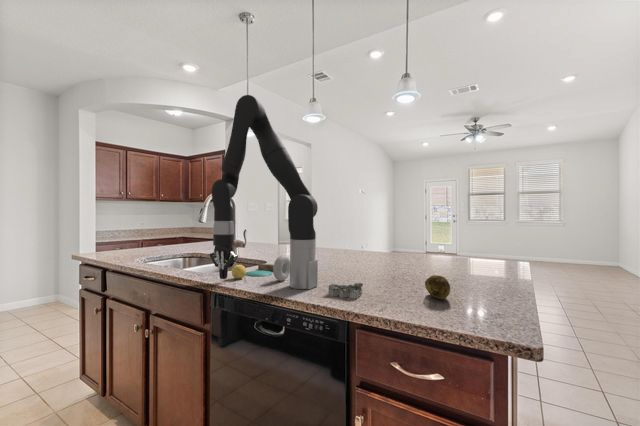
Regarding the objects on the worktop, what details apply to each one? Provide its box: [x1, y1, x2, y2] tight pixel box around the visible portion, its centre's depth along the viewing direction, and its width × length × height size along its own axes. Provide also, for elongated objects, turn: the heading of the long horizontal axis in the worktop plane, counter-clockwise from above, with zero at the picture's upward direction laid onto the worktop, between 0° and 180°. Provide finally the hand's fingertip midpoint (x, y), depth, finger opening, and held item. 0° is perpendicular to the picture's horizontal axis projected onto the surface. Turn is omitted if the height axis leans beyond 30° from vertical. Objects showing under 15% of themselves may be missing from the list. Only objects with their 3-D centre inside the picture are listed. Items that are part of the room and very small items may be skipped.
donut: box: [272, 254, 290, 282], centre depth 121 cm, size 10×4×10 cm, turn 155°
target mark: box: [245, 270, 273, 277], centre depth 134 cm, size 12×12×1 cm
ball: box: [231, 264, 247, 280], centre depth 124 cm, size 6×6×6 cm
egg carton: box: [327, 282, 364, 299], centre depth 101 cm, size 11×8×4 cm
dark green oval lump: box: [424, 274, 451, 300], centre depth 97 cm, size 8×13×8 cm, turn 149°
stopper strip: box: [257, 262, 274, 272], centre depth 142 cm, size 14×2×2 cm, turn 61°
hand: (223, 278), depth 117 cm, fingers closed
